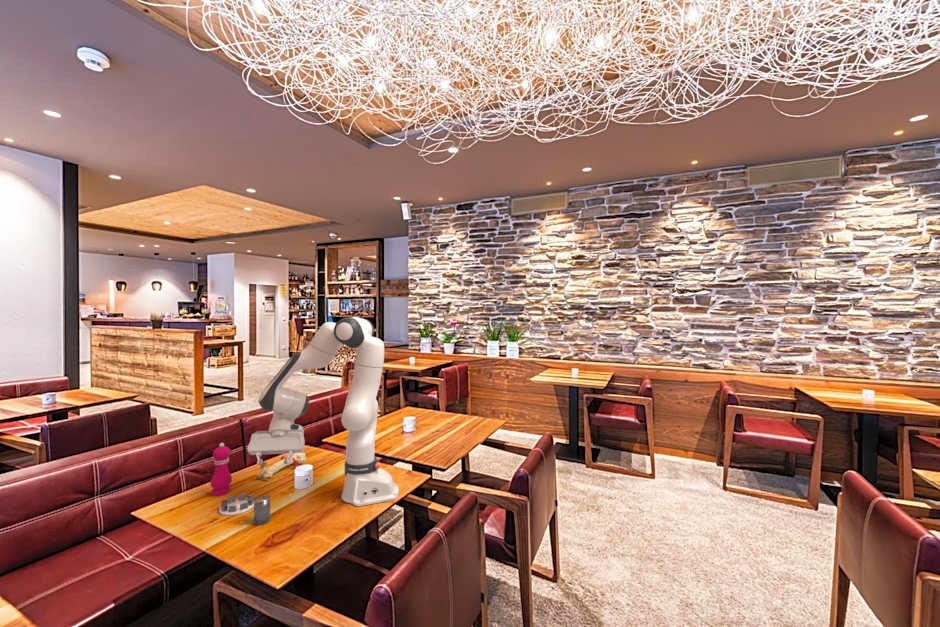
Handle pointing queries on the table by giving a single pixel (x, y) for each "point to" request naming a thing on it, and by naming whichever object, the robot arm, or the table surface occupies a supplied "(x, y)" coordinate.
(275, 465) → the cream dog bone
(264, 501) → the sleeve nut
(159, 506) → the table surface
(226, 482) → the pepper mill
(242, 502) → the castellated coaster
